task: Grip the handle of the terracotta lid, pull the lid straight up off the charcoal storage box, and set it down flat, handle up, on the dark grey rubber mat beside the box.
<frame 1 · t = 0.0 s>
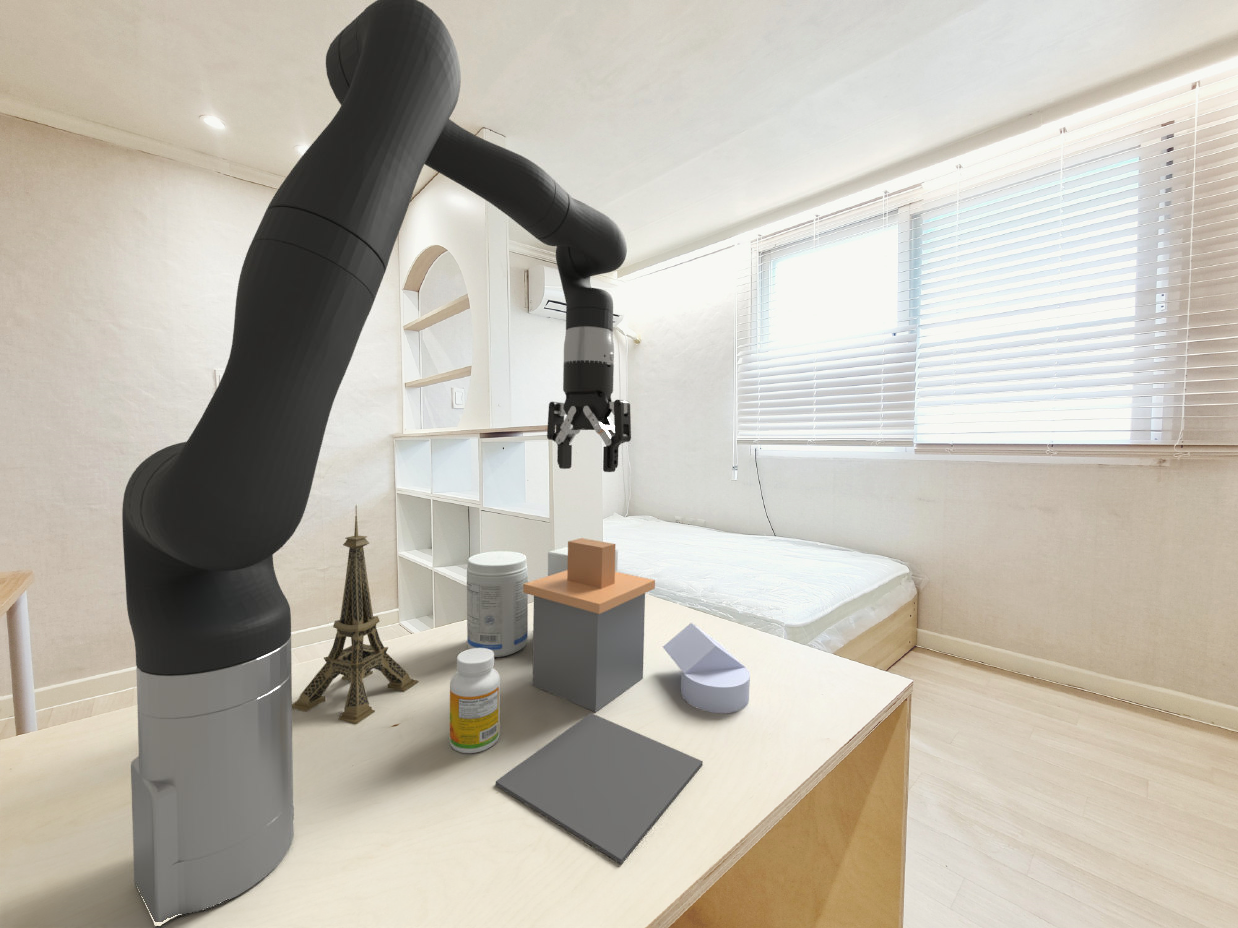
hand: (586, 470, 74), 29 cm above the table, tool pointing down, fingers open, 8 cm apart
lid: (590, 598, 68), point 12 cm above the table, touching storage box
supplement tub: (497, 647, 79), on the table
rubber mat: (602, 774, 50), on the table
wedge on round base: (708, 688, 68), on the table
supplement bottle: (474, 741, 55), on the table
supplement box: (582, 636, 85), on the table
storage box: (588, 681, 69), on the table
eiffel tower: (357, 696, 64), on the table
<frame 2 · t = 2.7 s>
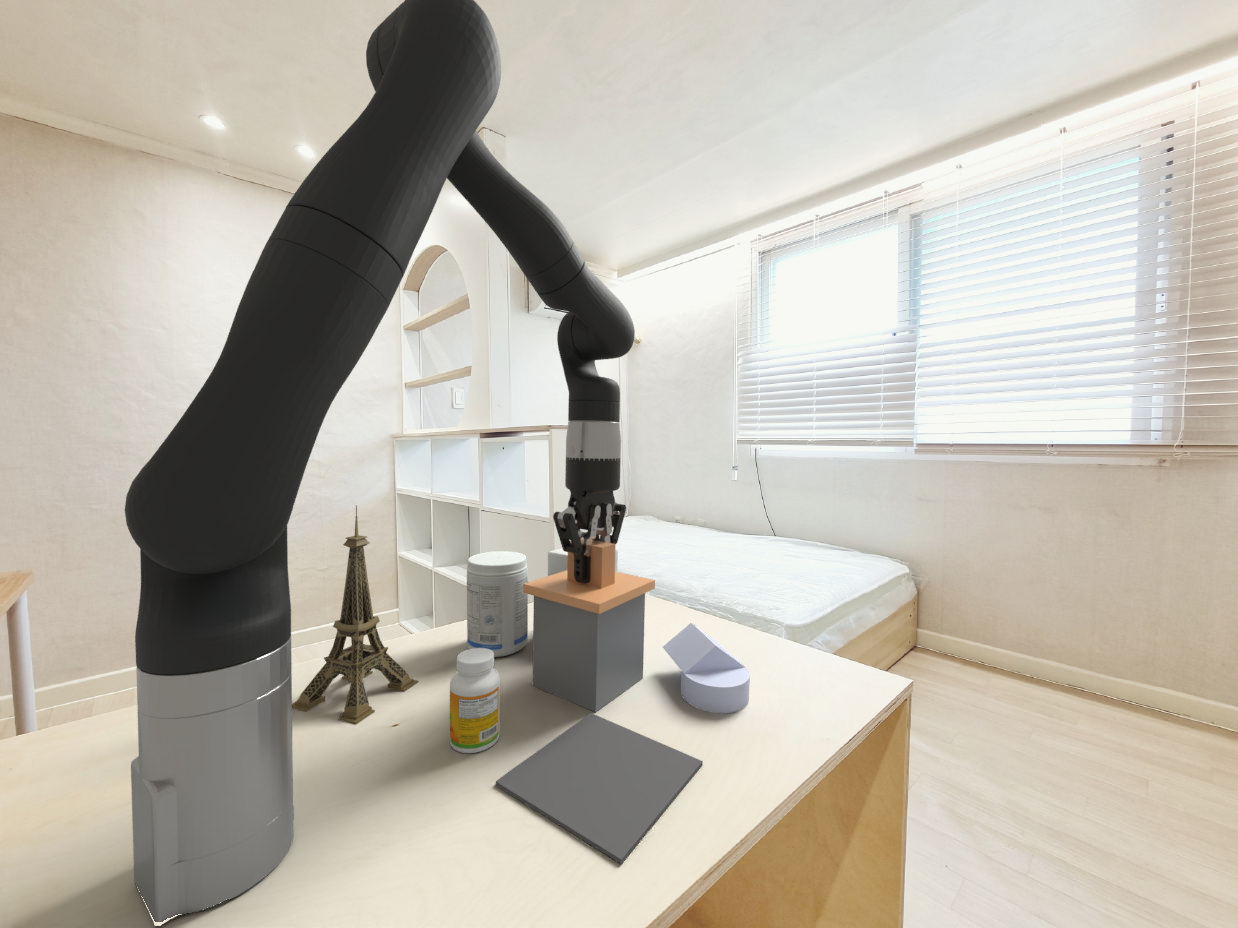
hand: (590, 578, 68), 15 cm above the table, tool pointing down, fingers closed on lid, 3 cm apart
lid: (590, 598, 68), point 12 cm above the table, touching gripper, storage box
everything else where it was.
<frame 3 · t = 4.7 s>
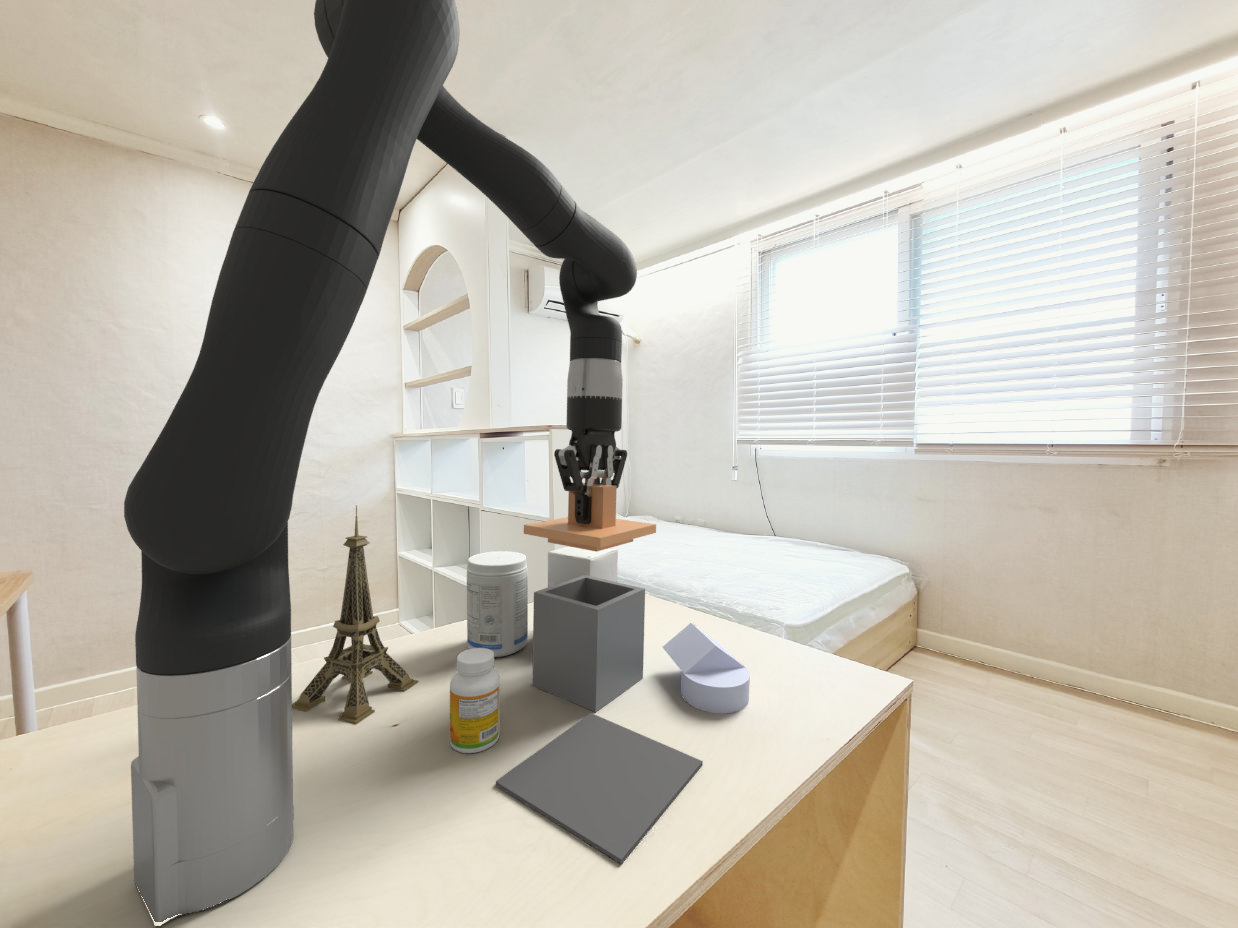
hand: (591, 521, 67), 23 cm above the table, tool pointing down, fingers closed on lid, 3 cm apart
lid: (591, 541, 68), point 20 cm above the table, touching gripper
everything else where it was.
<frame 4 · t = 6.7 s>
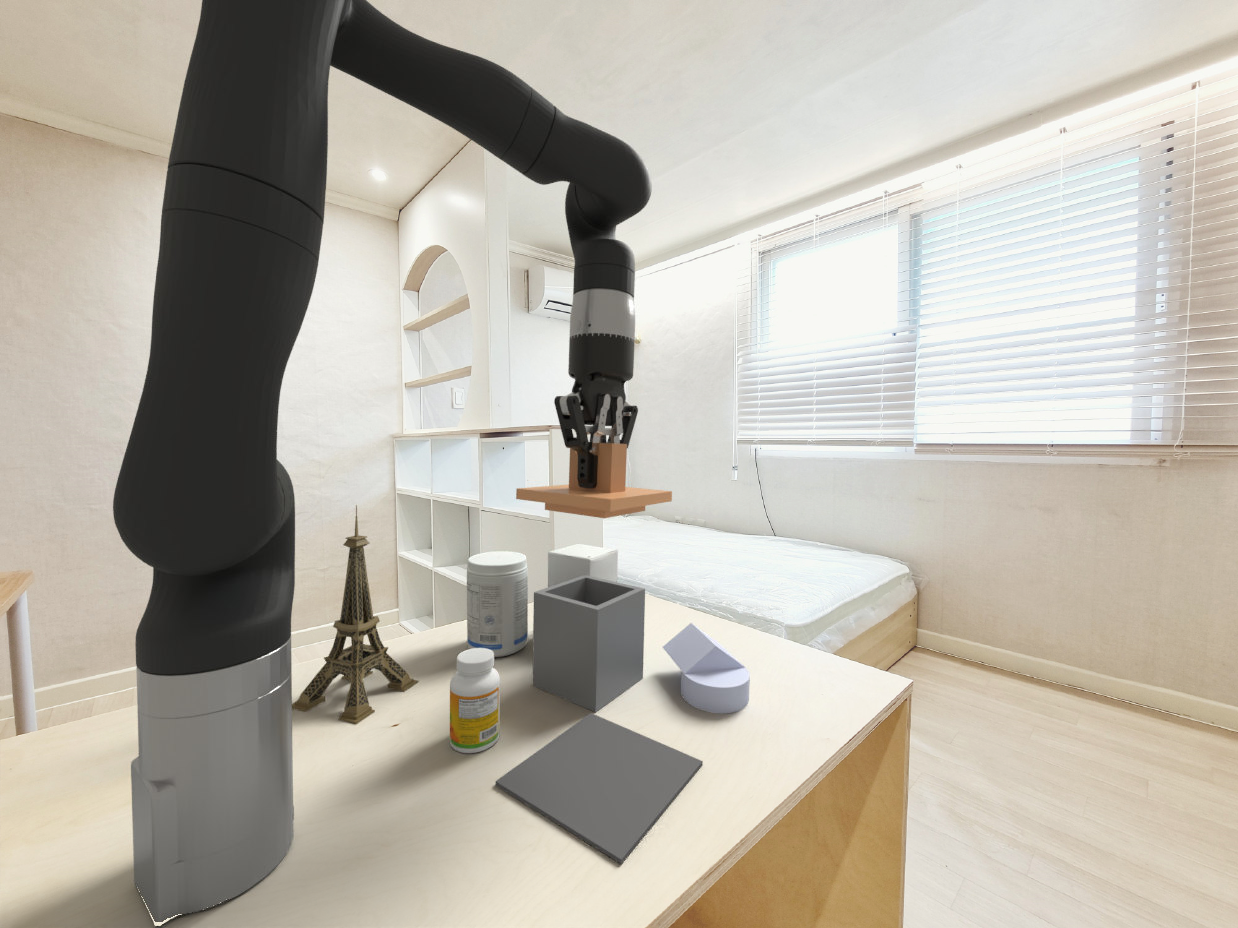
hand: (596, 486, 57), 29 cm above the table, tool pointing down, fingers closed on lid, 3 cm apart
lid: (595, 510, 57), point 26 cm above the table, touching gripper
everything else where it was.
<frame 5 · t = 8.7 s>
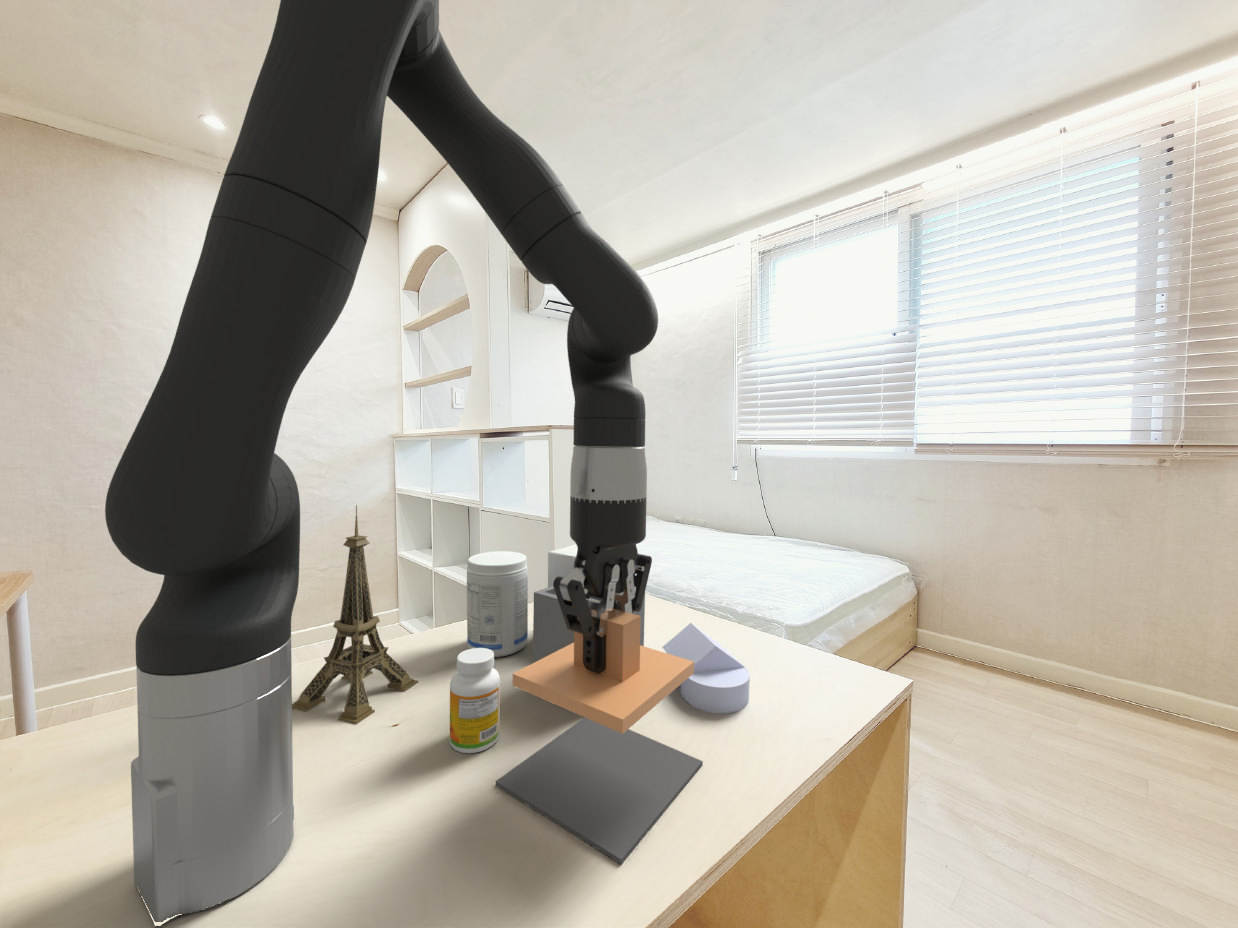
hand: (606, 662, 49), 12 cm above the table, tool pointing down, fingers closed on lid, 3 cm apart
lid: (606, 690, 49), point 9 cm above the table, touching gripper
everything else where it was.
when the fingers open (5 cm above the table, at t = 10.6 s): lid drops 1 cm, resting on rubber mat.
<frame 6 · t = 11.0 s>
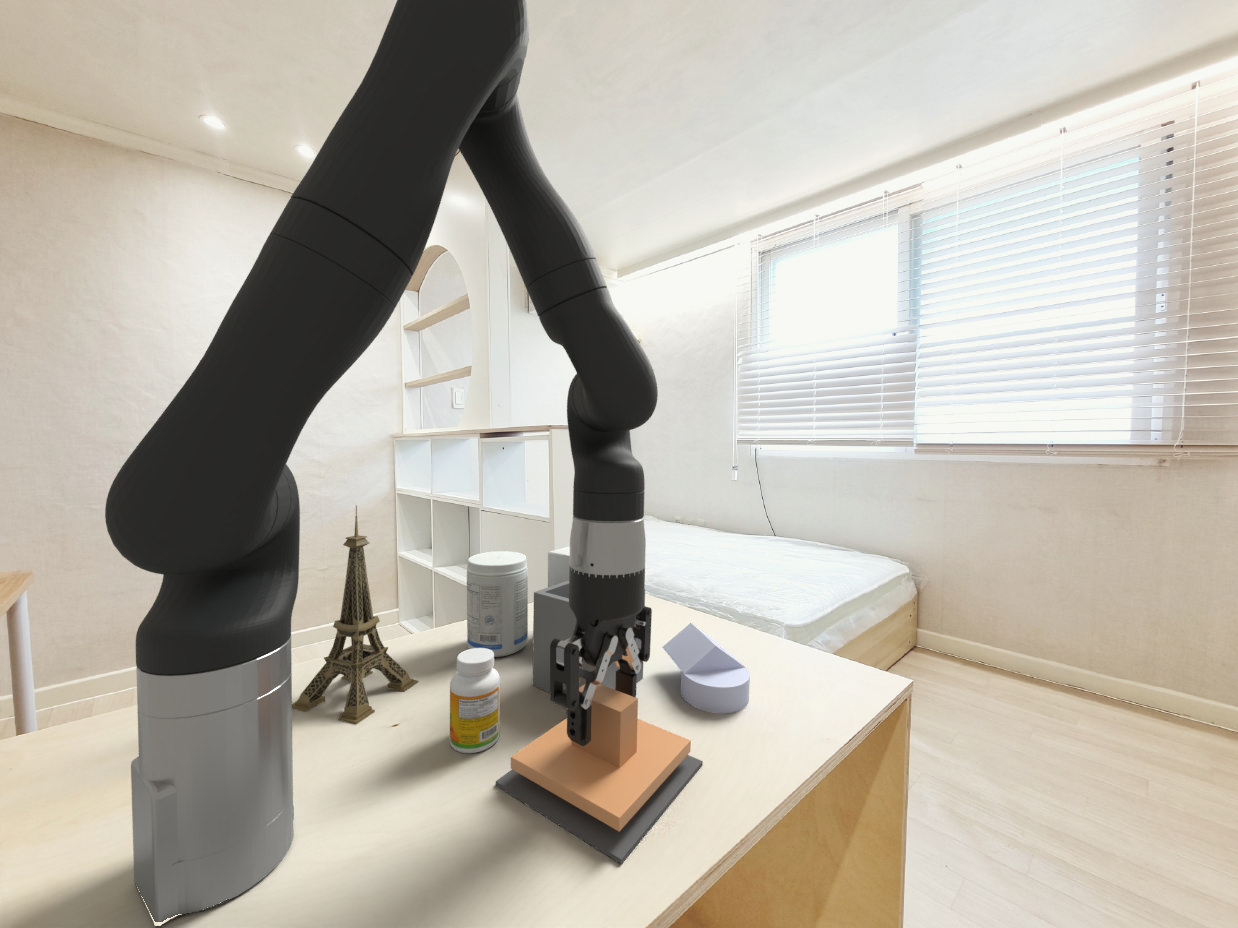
hand: (603, 722, 49), 5 cm above the table, tool pointing down, fingers open, 7 cm apart
lid: (603, 771, 50), resting on rubber mat
everything else where it was.
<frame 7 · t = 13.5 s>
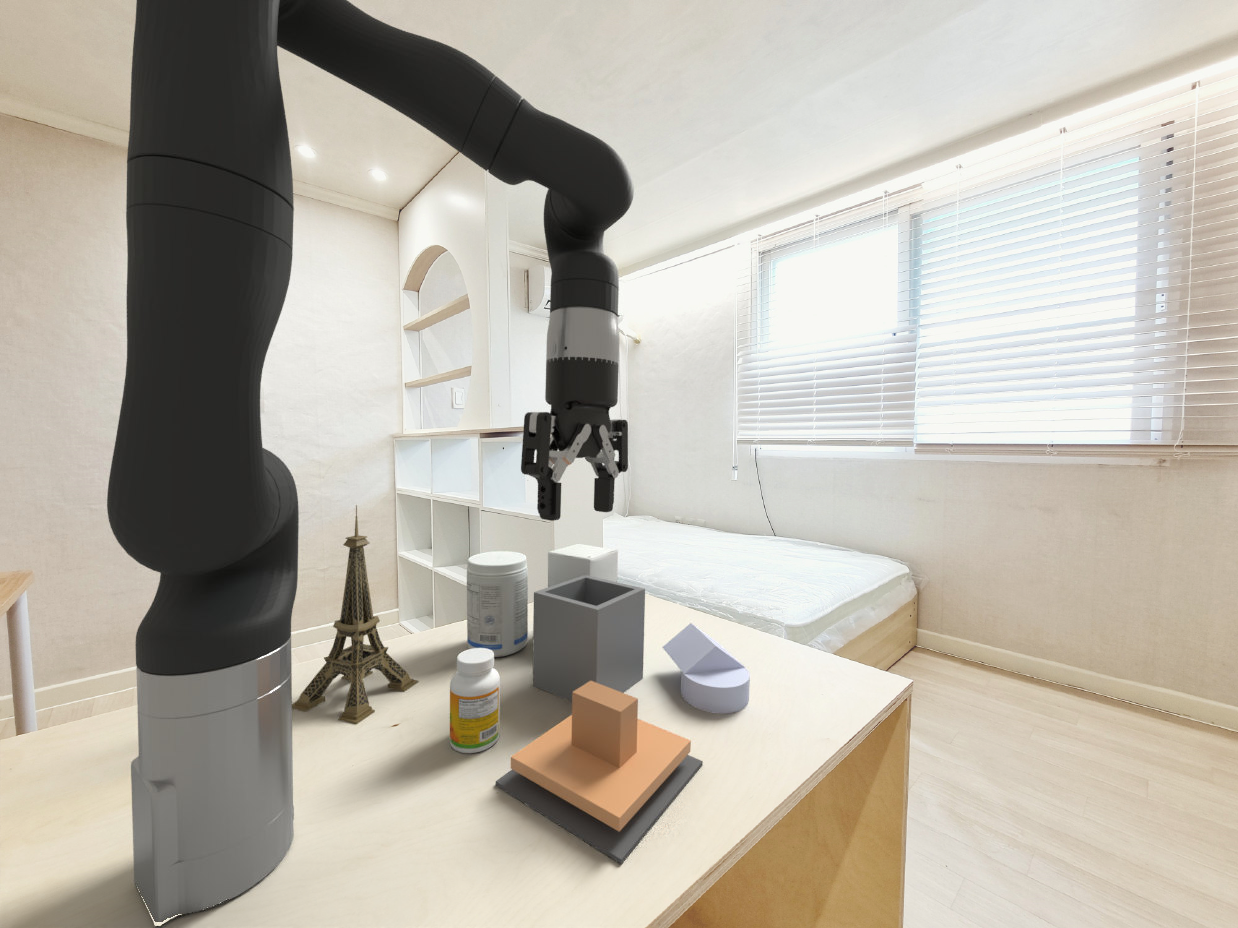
hand: (578, 515, 51), 26 cm above the table, tool pointing down, fingers open, 8 cm apart
nothing on the table moved.
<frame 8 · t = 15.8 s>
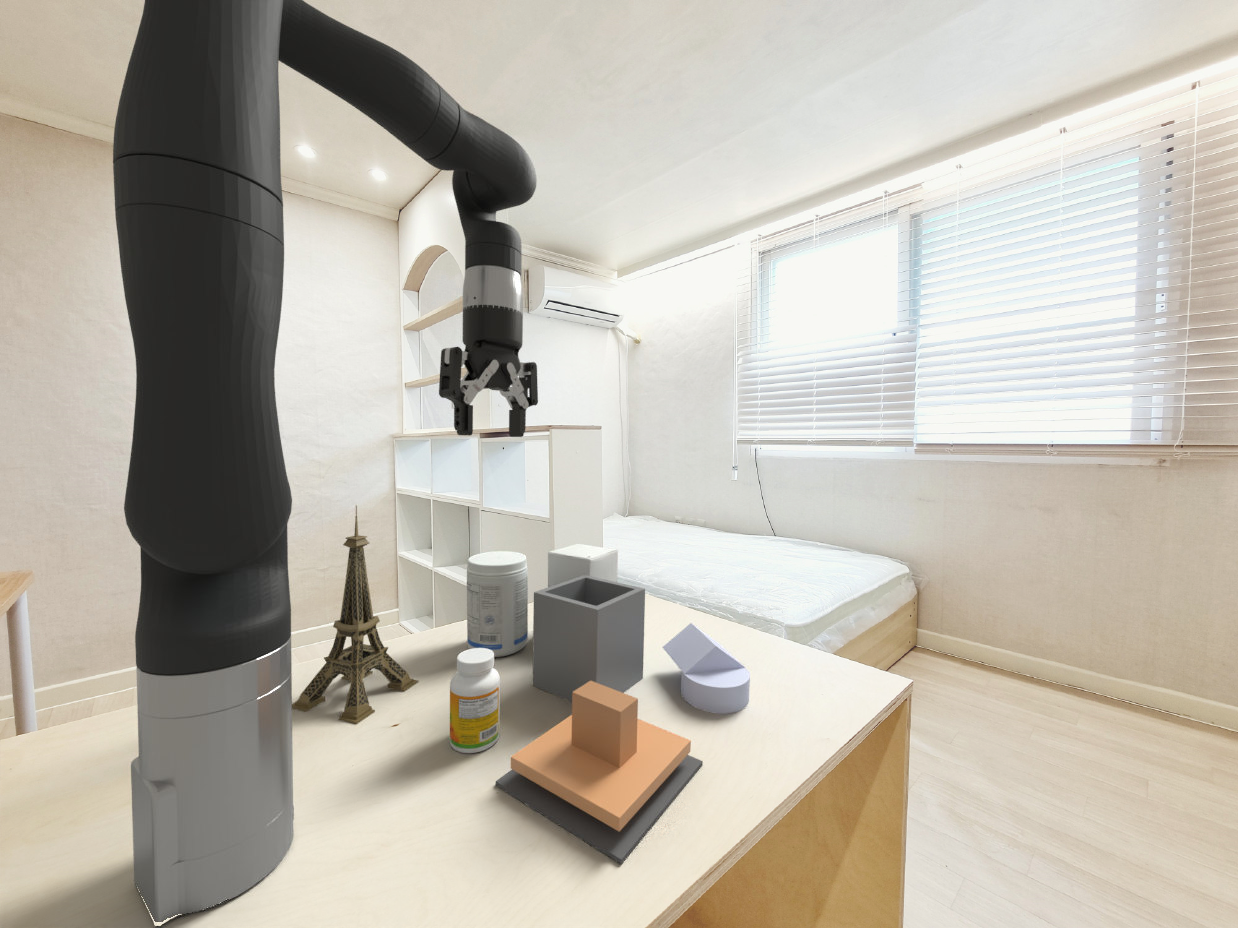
hand: (492, 436, 64), 34 cm above the table, tool pointing down, fingers open, 8 cm apart
nothing on the table moved.
at the end: lid inside the target area (0.1 cm from its centre), resting on rubber mat; lid tilted 0°; the gripper is holding nothing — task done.
